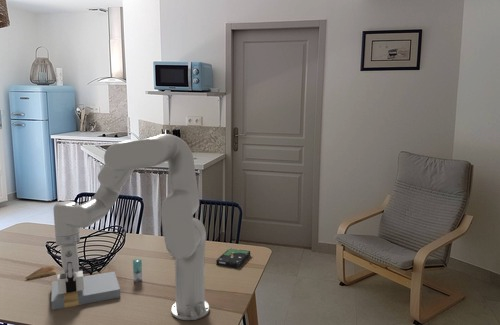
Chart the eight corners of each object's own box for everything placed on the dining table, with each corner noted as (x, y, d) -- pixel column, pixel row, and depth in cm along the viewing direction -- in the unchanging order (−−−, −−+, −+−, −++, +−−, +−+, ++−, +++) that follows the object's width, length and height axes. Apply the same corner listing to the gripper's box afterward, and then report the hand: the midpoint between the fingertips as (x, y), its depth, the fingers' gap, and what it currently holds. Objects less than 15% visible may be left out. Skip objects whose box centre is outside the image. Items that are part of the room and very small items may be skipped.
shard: (25, 281, 158) (25, 277, 158) (24, 274, 164) (23, 269, 164) (56, 275, 164) (56, 271, 163) (53, 268, 170) (53, 264, 170)
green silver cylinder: (142, 281, 158) (142, 261, 157) (134, 282, 157) (133, 263, 156) (141, 277, 161) (140, 258, 160) (133, 279, 160) (132, 259, 159)
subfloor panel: (120, 297, 146) (120, 289, 146) (52, 310, 137) (51, 301, 136) (114, 278, 160) (114, 271, 160) (52, 289, 151) (51, 281, 151)
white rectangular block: (84, 289, 142) (83, 275, 141) (58, 294, 138) (57, 279, 137) (83, 283, 146) (82, 269, 145) (58, 287, 143) (57, 273, 142)
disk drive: (238, 269, 171) (250, 256, 185) (238, 263, 171) (250, 250, 184) (215, 266, 175) (229, 253, 188) (215, 259, 174) (229, 247, 188)
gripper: (81, 244, 133) (84, 297, 136) (78, 229, 148) (81, 276, 151) (55, 248, 130) (59, 301, 133) (55, 231, 145) (59, 280, 148)
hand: (71, 287), depth 142 cm, fingers closed on white rectangular block, 5 cm apart
